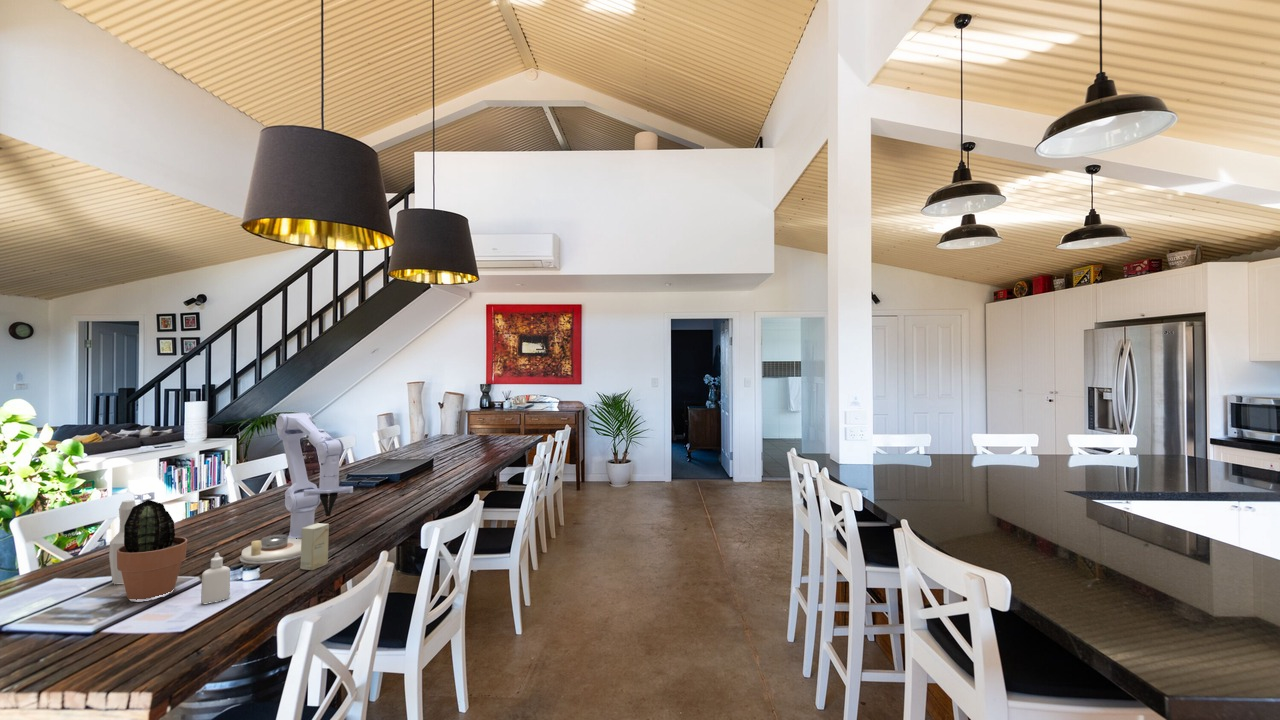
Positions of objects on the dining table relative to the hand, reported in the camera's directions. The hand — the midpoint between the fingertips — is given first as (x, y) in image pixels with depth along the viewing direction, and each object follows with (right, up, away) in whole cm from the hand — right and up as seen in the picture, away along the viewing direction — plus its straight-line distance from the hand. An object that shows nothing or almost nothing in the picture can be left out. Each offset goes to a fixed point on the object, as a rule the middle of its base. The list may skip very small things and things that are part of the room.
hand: (328, 515), depth 185 cm
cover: (-10, -7, -12) cm, 17 cm away
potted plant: (-20, -8, -44) cm, 50 cm away
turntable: (-10, -9, -11) cm, 18 cm away
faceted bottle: (-35, -8, -36) cm, 51 cm away
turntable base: (-10, -9, -11) cm, 18 cm away
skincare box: (+8, -9, -22) cm, 25 cm away
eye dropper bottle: (-2, -8, -47) cm, 48 cm away
